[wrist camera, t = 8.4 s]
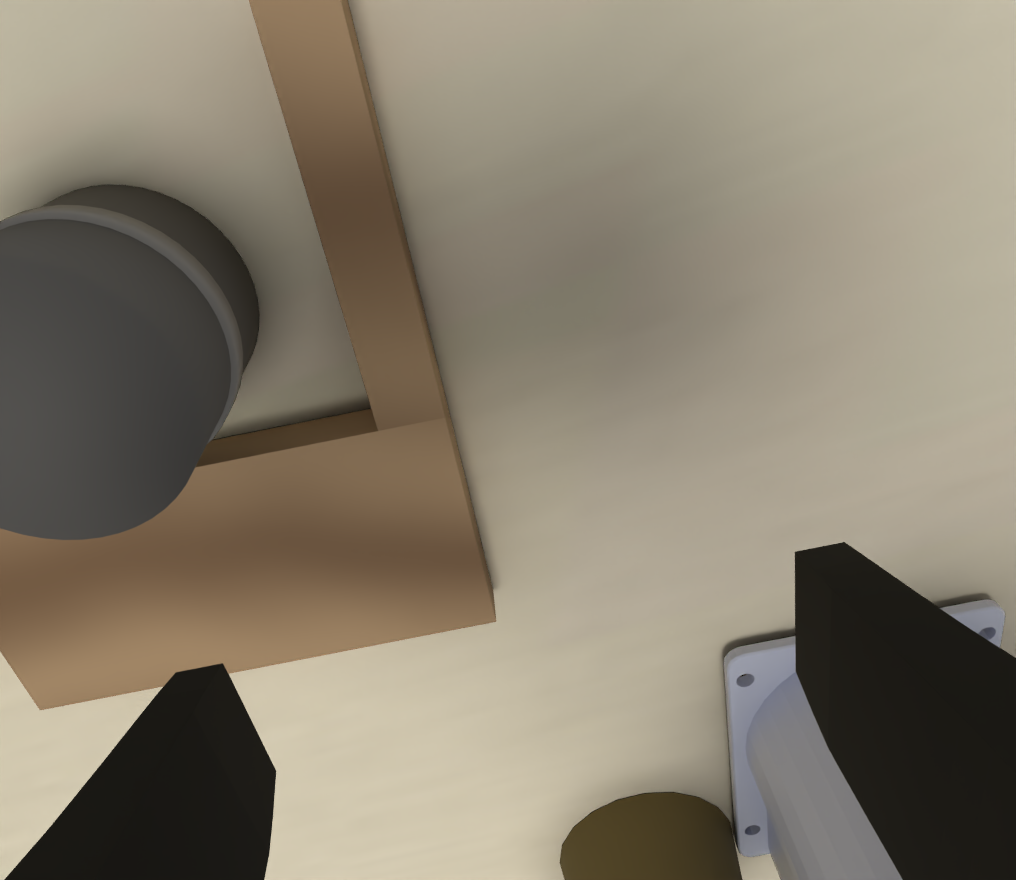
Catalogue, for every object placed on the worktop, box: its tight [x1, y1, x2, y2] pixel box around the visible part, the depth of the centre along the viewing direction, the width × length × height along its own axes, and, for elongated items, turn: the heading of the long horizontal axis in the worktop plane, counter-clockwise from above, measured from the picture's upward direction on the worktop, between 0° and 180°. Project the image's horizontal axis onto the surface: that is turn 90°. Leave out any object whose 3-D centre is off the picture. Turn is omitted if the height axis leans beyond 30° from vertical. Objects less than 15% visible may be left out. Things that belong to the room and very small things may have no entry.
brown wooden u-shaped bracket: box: [0, 0, 496, 710], centre depth 18 cm, size 14×12×1 cm
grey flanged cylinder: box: [0, 185, 259, 540], centre depth 15 cm, size 5×5×5 cm
